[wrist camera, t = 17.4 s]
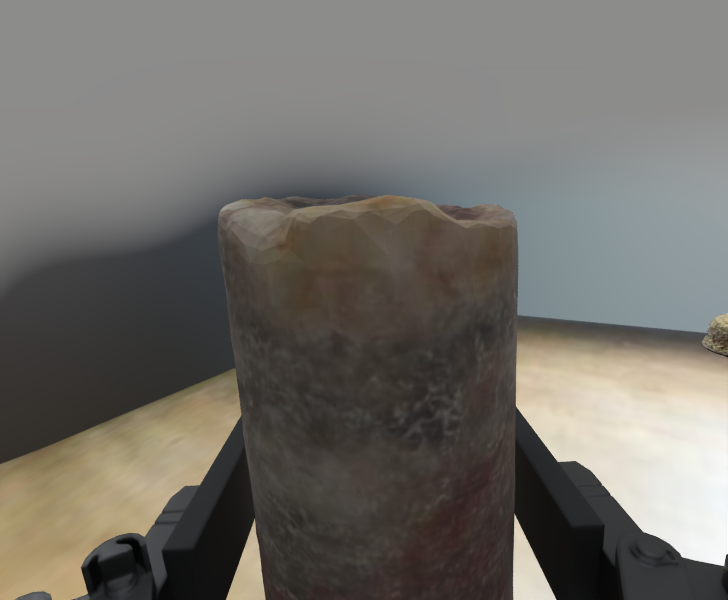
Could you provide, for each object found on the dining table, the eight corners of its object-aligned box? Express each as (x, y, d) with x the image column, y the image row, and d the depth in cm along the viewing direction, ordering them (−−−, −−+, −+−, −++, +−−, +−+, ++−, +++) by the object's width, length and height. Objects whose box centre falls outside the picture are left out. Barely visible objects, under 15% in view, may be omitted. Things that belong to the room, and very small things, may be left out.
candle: (413, 623, 19) (389, 191, 15) (562, 800, 13) (597, 166, 9) (260, 750, 15) (160, 203, 10) (377, 1092, 9) (262, 171, 5)
